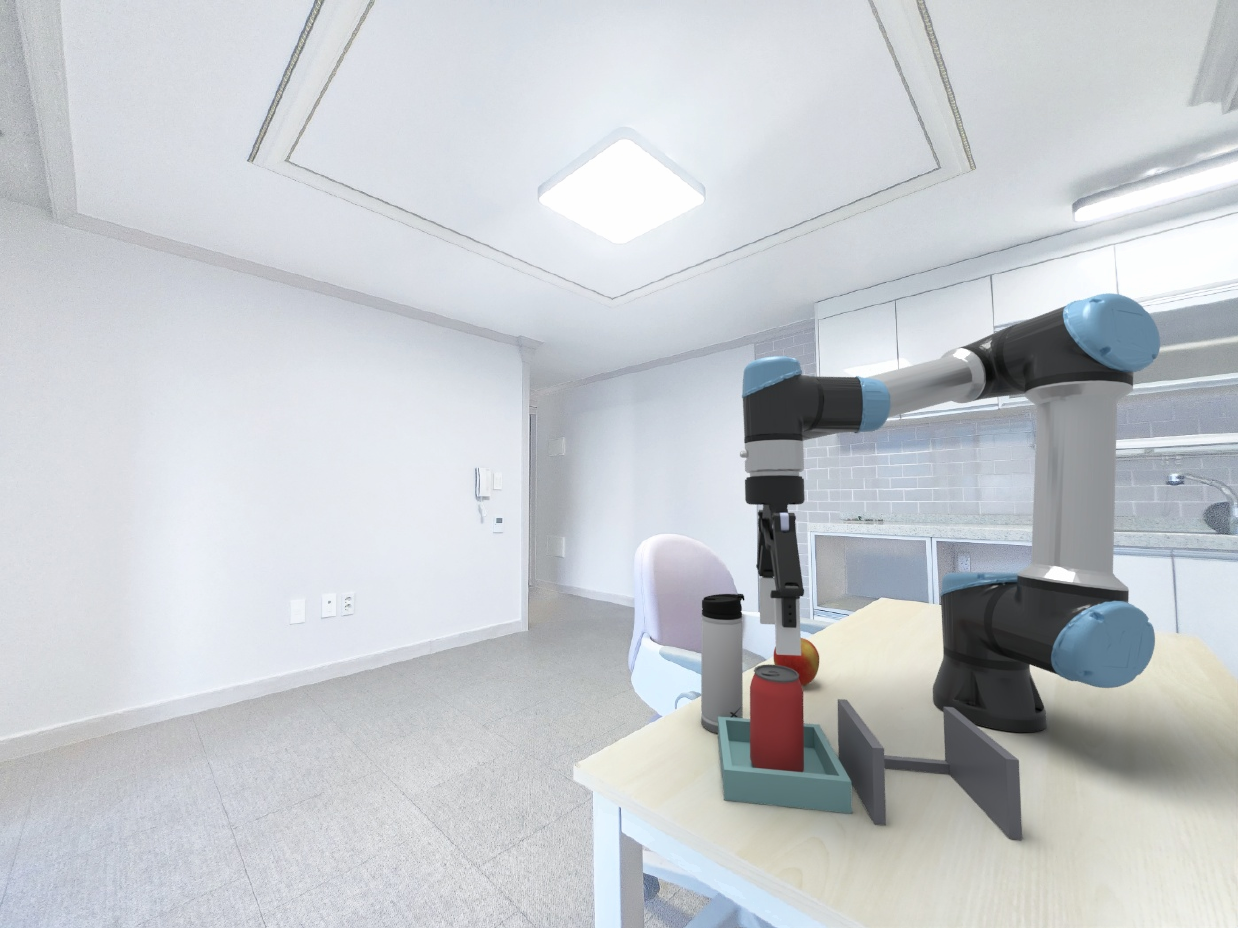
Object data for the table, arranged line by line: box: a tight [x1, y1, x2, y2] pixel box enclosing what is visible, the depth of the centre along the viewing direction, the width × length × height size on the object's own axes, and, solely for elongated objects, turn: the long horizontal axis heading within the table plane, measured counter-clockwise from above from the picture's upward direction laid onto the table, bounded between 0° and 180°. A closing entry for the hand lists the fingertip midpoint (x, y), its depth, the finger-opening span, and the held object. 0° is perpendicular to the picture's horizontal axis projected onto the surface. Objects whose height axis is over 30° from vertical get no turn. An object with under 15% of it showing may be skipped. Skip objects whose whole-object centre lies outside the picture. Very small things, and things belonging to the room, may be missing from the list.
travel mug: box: [700, 593, 745, 734], centre depth 76 cm, size 6×7×20 cm
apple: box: [773, 637, 820, 687], centre depth 93 cm, size 8×8×10 cm
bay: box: [837, 698, 1023, 841], centre depth 58 cm, size 14×13×8 cm
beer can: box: [749, 664, 804, 772], centre depth 63 cm, size 7×7×12 cm
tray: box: [717, 716, 853, 814], centre depth 62 cm, size 14×14×3 cm
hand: (778, 637), depth 63 cm, fingers open, 13 cm apart
